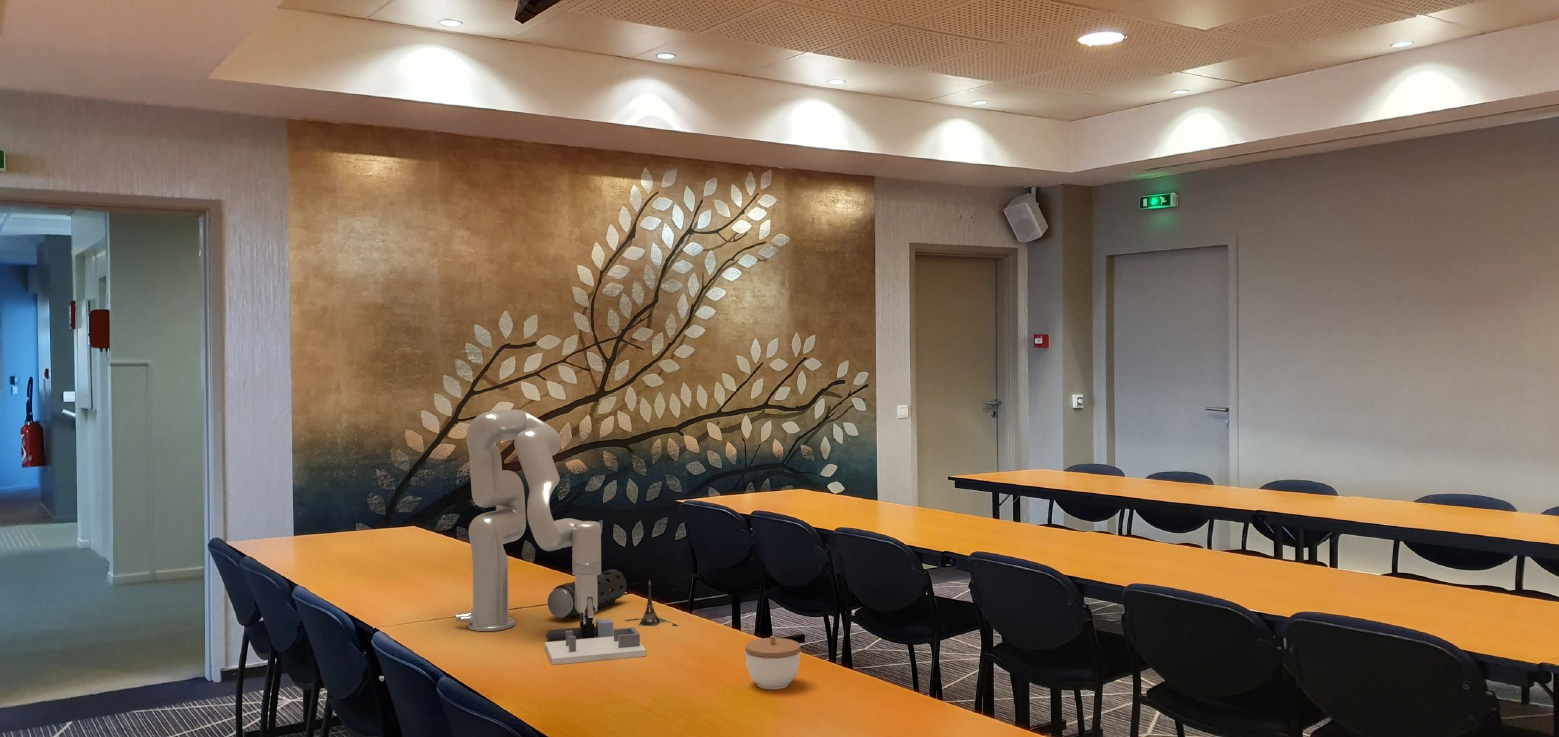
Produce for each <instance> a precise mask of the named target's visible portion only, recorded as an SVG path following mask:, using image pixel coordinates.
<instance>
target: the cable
mask: <svg viewBox="0 0 1559 737" xmlns="http://www.w3.org/2000/svg"><path fill="white" fill-rule="evenodd" d="M571 630H572V631H573V636H576V640H577V639H582V627H580V626H579V627H569V628H558V629H549V630H548V631H546V634H545V637H546V639H547V640H548V642H554V641H565V640H566V631H571ZM594 633H595V637H594V638H600V637H612V636H614V621H613V620H612V618H603V619H595V625H594Z"/></svg>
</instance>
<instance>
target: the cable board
mask: <svg viewBox="0 0 1559 737" xmlns="http://www.w3.org/2000/svg"><path fill="white" fill-rule="evenodd" d="M544 649H545V651H546V653H547V656H548V658H549V661H550V663H551V665H553V666H554V665H565V664H574V663H587V662H588V663H589V662H596V661H597V662H598V661H608V660H609V661H610V660H617V659H629V658H639V657H647V650H646V648H645V647H644V646H643V644H642V643H641V635H640V633H639V631H638V630H637V629H636V628H635V627H634V626H632V627H619V628H613V636H612V637H600V638H598V637H594V638H589V639H582V638H578V639H576V636H573V631H572V630H571V631H566V640H555V641H545V642H544Z"/></svg>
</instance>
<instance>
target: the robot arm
mask: <svg viewBox="0 0 1559 737" xmlns="http://www.w3.org/2000/svg"><path fill="white" fill-rule="evenodd" d="M513 440H514V441H513ZM501 441H502V442H503V441H507V442H508V441H513V444H514V448H515V452H516V455H517V458H518V460H519V463H520V465H521V470H522V471H523V475H524V476H525V480H526V483H527V487H528V488H529V492H528V493H529V494H528V498H527V505H526V502H525V501H526V500H525V487H524V484H523V481H522V479H521V477H520V476H519V475H518V474H517V473H516V472H515V471H512V470H508V469H506V470H503V466H502V464H503V463H502V455H501V452H500V450H499V448H498V446H497V445H496V443H498V442H501ZM466 443H467V449H468V454H469V469H470V470H469V471H470V485H471V487H470V488H471V489H470V490H471V497H472V499H473V500H472V501H473V502H474V504H475V505H476V506H478V507H480V508H492V507H495V509H496V510H493V511H487V512H484V513H480V514H479V515H477V516H475V517H474V518H473V519H472V521H471V522H470V523H469V526H468V537H469V543H470V548H471V557H472V608H471V611H468V612H467V613H455V622H461V623H462V622H467V628H468V630H470V631H476V632H494V631H495V632H496V631H501V630H506V629H510V628H513V627H514V625H515V619H513V618H512V617H509V614H510V613H509V559H508V556H507V553H506V550H505V548H504V545H505V544H508V543H512V542H515V541H517V540H519V539H520V538H522V537H523V535H524V533H525V531H526V527H527V523H528V526H529V528H530V531H531V533H532V536H533V538H534V540H535V543H536V544H537V545H538V546H539V548H540V549H542V550H543V551H546V552H552V551H553V552H554V551H556V550H561V549H562V548H568V547H572V551H571V552H572V555H571V556H572V558H571V559H572V560H571V561H572V575H573V576H575V578H574V579H575V581H574V582H575V603H574V605H575V608H576V610H577V611H578V613H579V614H580V616H579V617H580V621H579V627H582V638H581V639H589V638H596V637H595V633H594V626H595V613H597V612H598V608H597V605H598V591H597V575H599V574H601V573H602V536H601V534H602V528H601V527H602V526H601V525H600V523H599V522H598V521H593V520H584V521H583V520H579V519H576V518H571V517H570V518H569V517H568V518H567V517H566V518H561V519H557V520H554V518H553V516H552V513H551V508H550V507H551V506H550V500H551V495H552V493H553V491H554V490H555V488H556V486H557V485H558V484H559V482H560V480H561V478H560V474H559V471H558V470H557V467H556V464H555V461H554V459H553V456H555V455H557V453H559V452H560V450H561V447H562V440H561V437H560V434H559V432H558V431H557V429H555V428H554V427H553V426H551V425H550V424H547V423H546V422H544V421H543V420H541V419H539V418H537V417H536V416H534V415H532V414H530V413H528V412H526V411H524V410H522V409H505V410H504V409H501V410H500V409H499V410H491V411H486V412H483V413H480V414H478V415H477V416H475V418H473V419H472V420H471V422H470V424H469V425H468V427H467V431H466ZM526 506H527V507H526ZM526 517H527V518H526ZM527 521H528V522H527Z"/></svg>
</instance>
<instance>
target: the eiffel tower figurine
mask: <svg viewBox="0 0 1559 737" xmlns="http://www.w3.org/2000/svg"><path fill="white" fill-rule="evenodd" d="M651 582H652V581H651V580H649V581H648V592H647V593H648V594H647V603H646V607H645V612H644V613H643V616H642V618H629V619H624V621H625V622H633V621H639V620H640V622H639V623H638V625H637V627H638V626H639V627H640V626H641V627H657V626H658V625H660V623H671V627H679V626H680V625H679V624H676V623H673V622H671V621H668V620H667V619H664V618H661V617H659V616H658V615H657V612H656V611H655V609H654V604H653V600H652V587H651V586H652V583H651Z"/></svg>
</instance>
